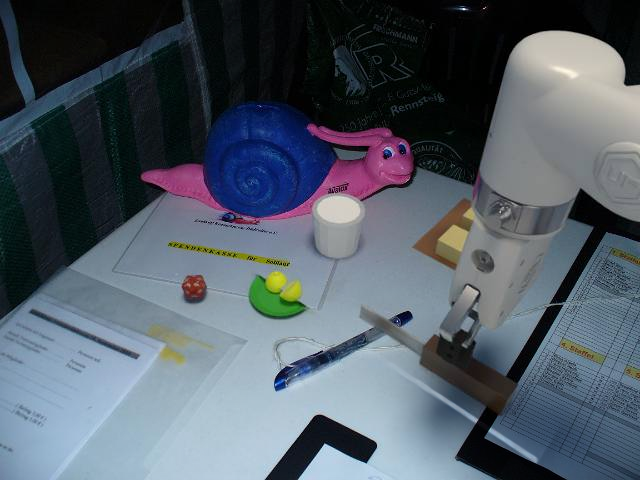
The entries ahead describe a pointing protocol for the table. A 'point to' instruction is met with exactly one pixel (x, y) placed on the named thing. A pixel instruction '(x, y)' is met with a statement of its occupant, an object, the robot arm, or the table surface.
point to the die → (194, 286)
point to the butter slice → (467, 220)
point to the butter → (451, 243)
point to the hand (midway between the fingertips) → (476, 329)
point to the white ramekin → (337, 224)
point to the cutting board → (442, 232)
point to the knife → (452, 366)
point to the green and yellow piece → (276, 295)
